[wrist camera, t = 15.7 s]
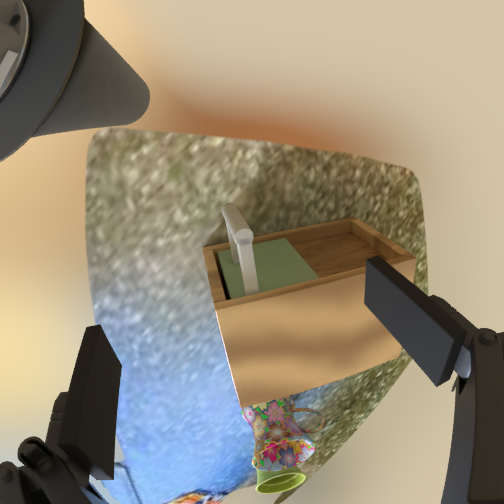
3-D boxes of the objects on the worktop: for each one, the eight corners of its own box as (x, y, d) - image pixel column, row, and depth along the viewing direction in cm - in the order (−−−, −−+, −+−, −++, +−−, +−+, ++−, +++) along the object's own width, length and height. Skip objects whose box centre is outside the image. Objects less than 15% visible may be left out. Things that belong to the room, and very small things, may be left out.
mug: (258, 426, 49) (274, 476, 39) (225, 406, 45) (238, 462, 35) (317, 391, 48) (342, 440, 38) (290, 366, 44) (315, 421, 34)
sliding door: (206, 199, 30) (218, 233, 22) (279, 185, 31) (318, 213, 23) (218, 258, 33) (233, 310, 25) (285, 244, 34) (322, 288, 26)
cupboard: (202, 247, 34) (214, 309, 23) (354, 216, 36) (417, 257, 26) (222, 335, 39) (240, 408, 28) (352, 301, 41) (400, 356, 31)
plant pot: (297, 448, 55) (311, 481, 48) (256, 464, 55) (266, 497, 47) (284, 431, 51) (298, 468, 43) (238, 448, 51) (248, 486, 43)
